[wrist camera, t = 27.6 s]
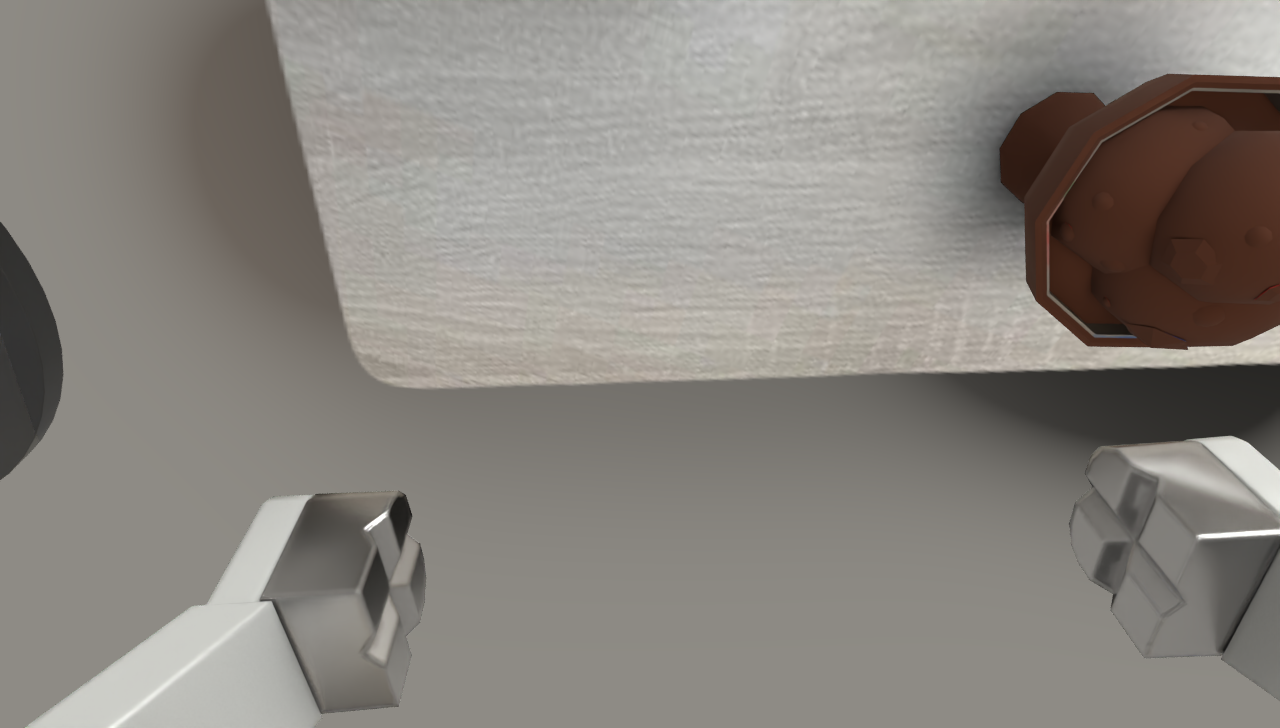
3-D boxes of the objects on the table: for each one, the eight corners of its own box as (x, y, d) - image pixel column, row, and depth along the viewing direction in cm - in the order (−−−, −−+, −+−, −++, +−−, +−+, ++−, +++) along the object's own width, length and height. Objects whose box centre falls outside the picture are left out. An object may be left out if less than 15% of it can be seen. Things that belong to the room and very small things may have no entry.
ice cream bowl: (903, 124, 36) (1065, 257, 23) (1145, -26, 33) (1481, 32, 20) (985, 292, 41) (1155, 478, 28) (1202, 174, 38) (1502, 323, 25)
